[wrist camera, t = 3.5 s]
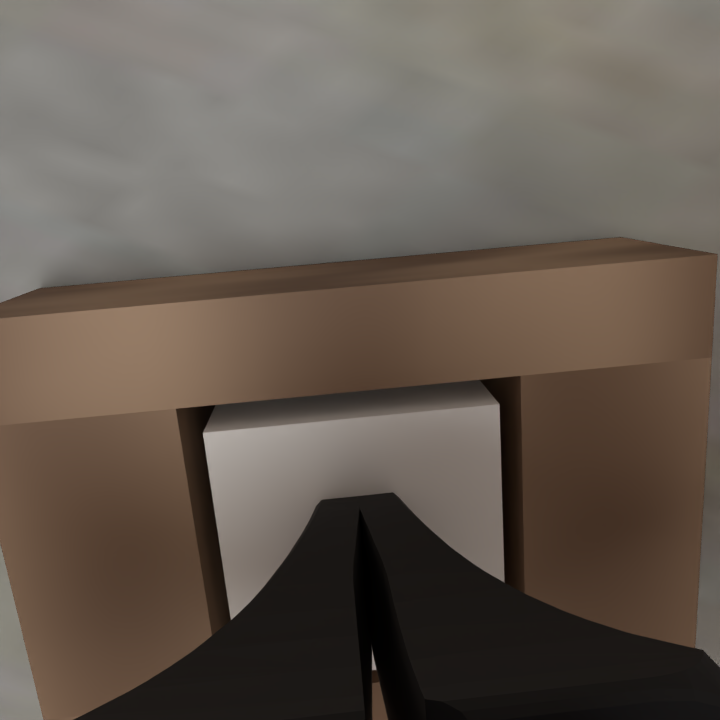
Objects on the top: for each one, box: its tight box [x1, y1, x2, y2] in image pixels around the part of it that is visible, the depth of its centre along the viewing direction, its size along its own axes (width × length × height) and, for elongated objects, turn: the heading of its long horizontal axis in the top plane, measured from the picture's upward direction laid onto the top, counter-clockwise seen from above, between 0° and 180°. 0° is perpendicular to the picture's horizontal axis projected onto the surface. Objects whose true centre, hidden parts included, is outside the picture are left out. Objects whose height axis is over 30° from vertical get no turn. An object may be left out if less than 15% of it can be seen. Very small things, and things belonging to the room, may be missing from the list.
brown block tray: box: [0, 237, 717, 720], centre depth 15 cm, size 12×19×4 cm, turn 5°
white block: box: [203, 380, 504, 670], centre depth 13 cm, size 5×5×4 cm
